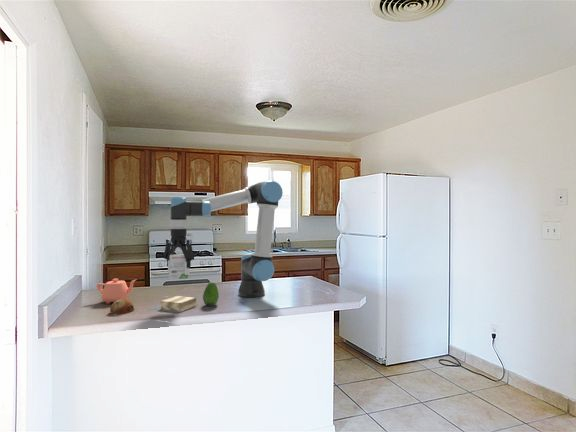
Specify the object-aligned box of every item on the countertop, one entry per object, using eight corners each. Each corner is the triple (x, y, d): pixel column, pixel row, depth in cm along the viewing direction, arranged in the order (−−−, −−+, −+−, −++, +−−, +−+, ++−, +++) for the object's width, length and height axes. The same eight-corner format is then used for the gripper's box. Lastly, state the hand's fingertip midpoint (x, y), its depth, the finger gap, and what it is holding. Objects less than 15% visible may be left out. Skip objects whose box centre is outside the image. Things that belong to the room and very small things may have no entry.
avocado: (219, 307, 191) (219, 283, 191) (203, 308, 189) (203, 284, 189) (217, 303, 199) (217, 280, 199) (202, 304, 197) (202, 281, 197)
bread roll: (119, 316, 187) (111, 302, 187) (138, 307, 188) (131, 292, 187) (111, 322, 177) (103, 307, 177) (132, 312, 178) (124, 297, 178)
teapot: (134, 303, 198) (134, 280, 198) (92, 305, 194) (92, 281, 194) (139, 298, 211) (139, 276, 211) (100, 299, 208) (100, 277, 207)
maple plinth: (196, 305, 193) (196, 297, 192) (181, 311, 181) (181, 303, 181) (176, 303, 197) (176, 295, 197) (160, 309, 186) (160, 300, 186)
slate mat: (198, 305, 194) (198, 304, 194) (178, 313, 180) (178, 312, 180) (169, 302, 201) (169, 301, 201) (148, 309, 186) (148, 308, 186)
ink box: (187, 277, 193) (187, 253, 193) (187, 278, 188) (187, 254, 188) (169, 277, 190) (169, 254, 190) (169, 279, 185) (169, 255, 185)
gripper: (201, 228, 188) (201, 274, 188) (165, 227, 196) (165, 271, 197) (192, 229, 181) (192, 276, 181) (155, 228, 189) (155, 273, 190)
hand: (178, 273), depth 189 cm, fingers closed on ink box, 9 cm apart
